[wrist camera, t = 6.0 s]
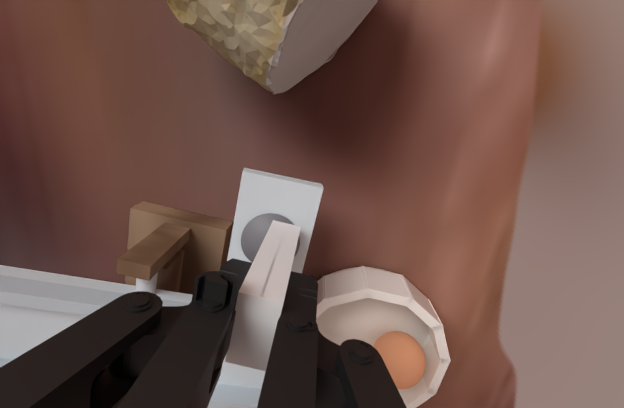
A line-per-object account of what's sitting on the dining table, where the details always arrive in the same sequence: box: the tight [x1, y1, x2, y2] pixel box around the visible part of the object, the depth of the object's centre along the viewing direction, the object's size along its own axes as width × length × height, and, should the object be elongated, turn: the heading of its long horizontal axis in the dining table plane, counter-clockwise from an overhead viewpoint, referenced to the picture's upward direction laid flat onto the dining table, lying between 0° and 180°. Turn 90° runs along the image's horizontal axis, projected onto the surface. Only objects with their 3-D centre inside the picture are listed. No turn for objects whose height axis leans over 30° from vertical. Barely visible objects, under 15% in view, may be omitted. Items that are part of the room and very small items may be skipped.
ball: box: [373, 331, 426, 389], centre depth 22 cm, size 4×4×4 cm
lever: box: [0, 168, 323, 408], centre depth 17 cm, size 20×15×3 cm
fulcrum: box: [116, 201, 233, 295], centre depth 21 cm, size 6×12×6 cm, turn 167°
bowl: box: [316, 266, 451, 408], centre depth 23 cm, size 10×10×3 cm
